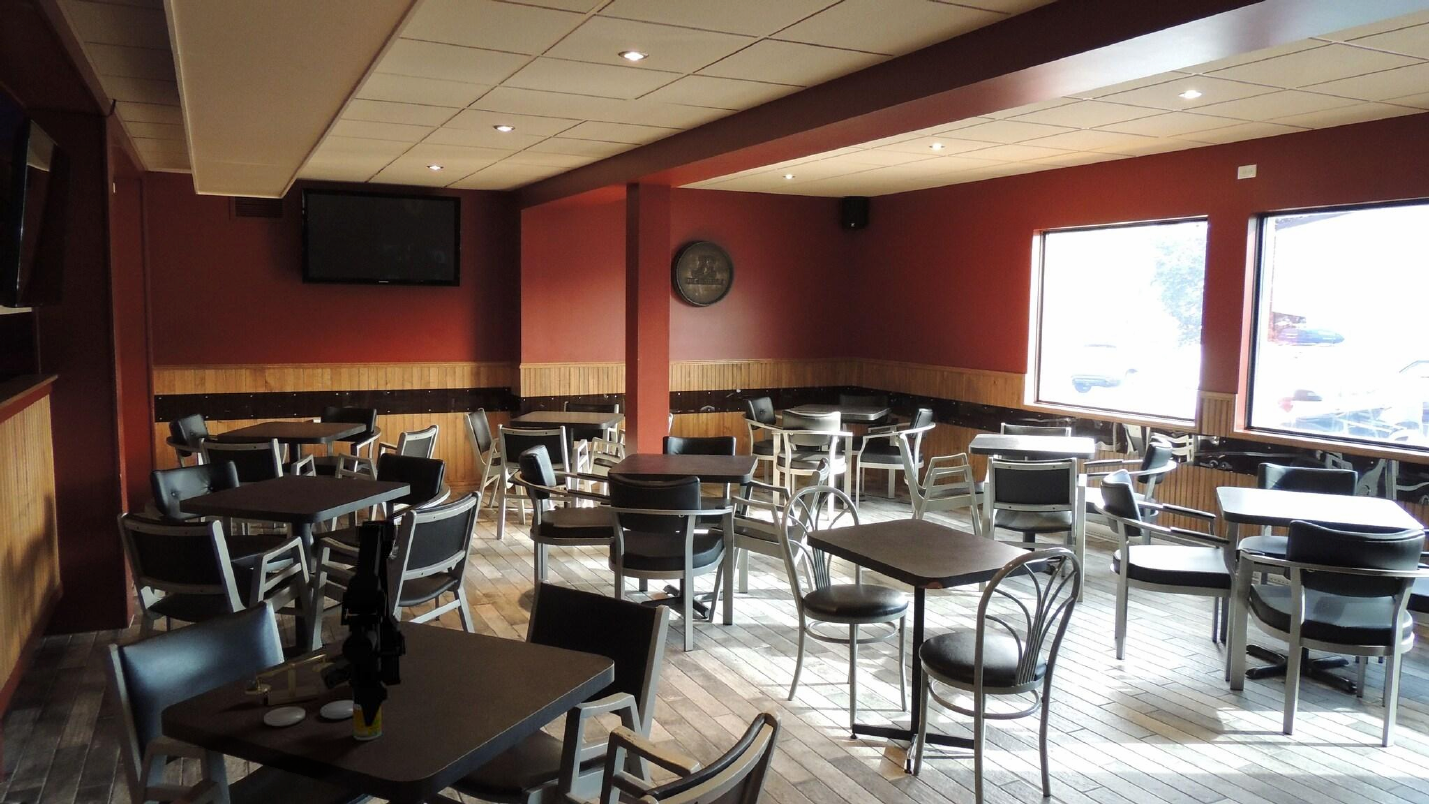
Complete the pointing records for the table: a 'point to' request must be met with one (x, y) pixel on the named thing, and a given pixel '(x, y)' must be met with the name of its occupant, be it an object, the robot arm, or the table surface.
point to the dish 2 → (338, 709)
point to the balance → (293, 692)
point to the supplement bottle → (360, 728)
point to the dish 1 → (284, 716)
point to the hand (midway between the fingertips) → (367, 721)
